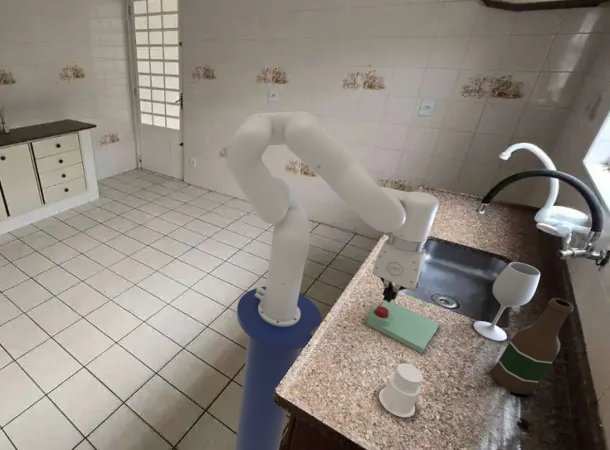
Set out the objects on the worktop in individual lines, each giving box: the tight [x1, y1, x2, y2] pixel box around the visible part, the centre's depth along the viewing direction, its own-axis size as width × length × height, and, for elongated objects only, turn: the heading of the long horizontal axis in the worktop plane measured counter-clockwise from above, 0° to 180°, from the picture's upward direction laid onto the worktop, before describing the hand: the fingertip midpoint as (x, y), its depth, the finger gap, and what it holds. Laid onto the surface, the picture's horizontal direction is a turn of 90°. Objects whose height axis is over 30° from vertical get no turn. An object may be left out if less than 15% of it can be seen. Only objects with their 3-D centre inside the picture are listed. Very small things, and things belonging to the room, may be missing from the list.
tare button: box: [375, 305, 389, 318], centre depth 97 cm, size 3×3×2 cm
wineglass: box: [473, 261, 541, 342], centre depth 91 cm, size 8×8×21 cm
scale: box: [366, 300, 440, 354], centre depth 97 cm, size 15×13×4 cm
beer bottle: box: [491, 297, 575, 395], centre depth 77 cm, size 8×8×24 cm
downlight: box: [378, 363, 423, 418], centre depth 75 cm, size 8×7×10 cm
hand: (388, 299), depth 95 cm, fingers closed
